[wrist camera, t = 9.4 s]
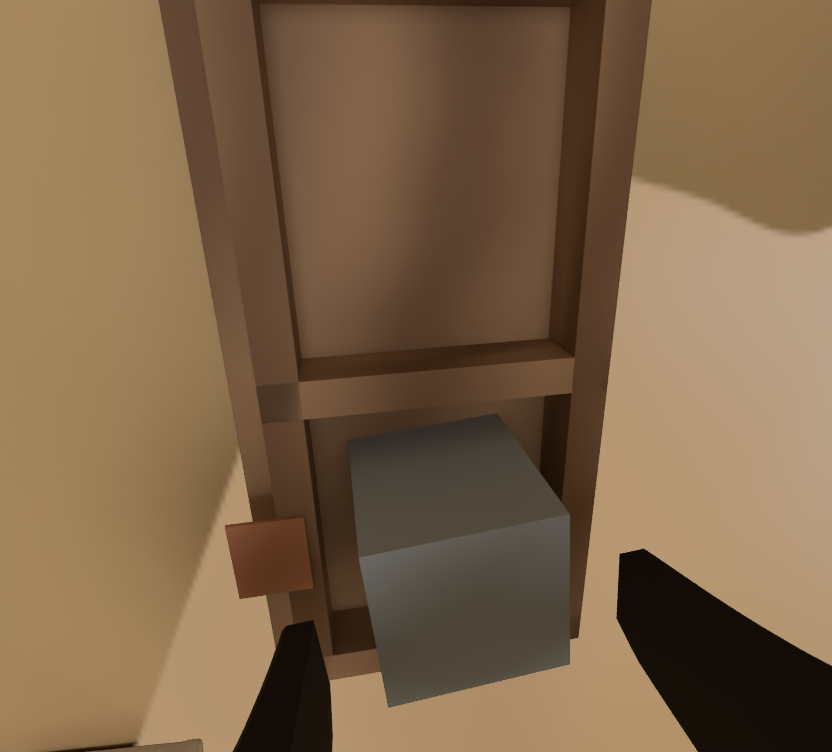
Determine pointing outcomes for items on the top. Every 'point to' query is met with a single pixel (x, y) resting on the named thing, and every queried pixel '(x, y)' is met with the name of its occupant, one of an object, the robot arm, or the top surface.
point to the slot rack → (404, 252)
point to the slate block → (459, 557)
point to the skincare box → (163, 747)
